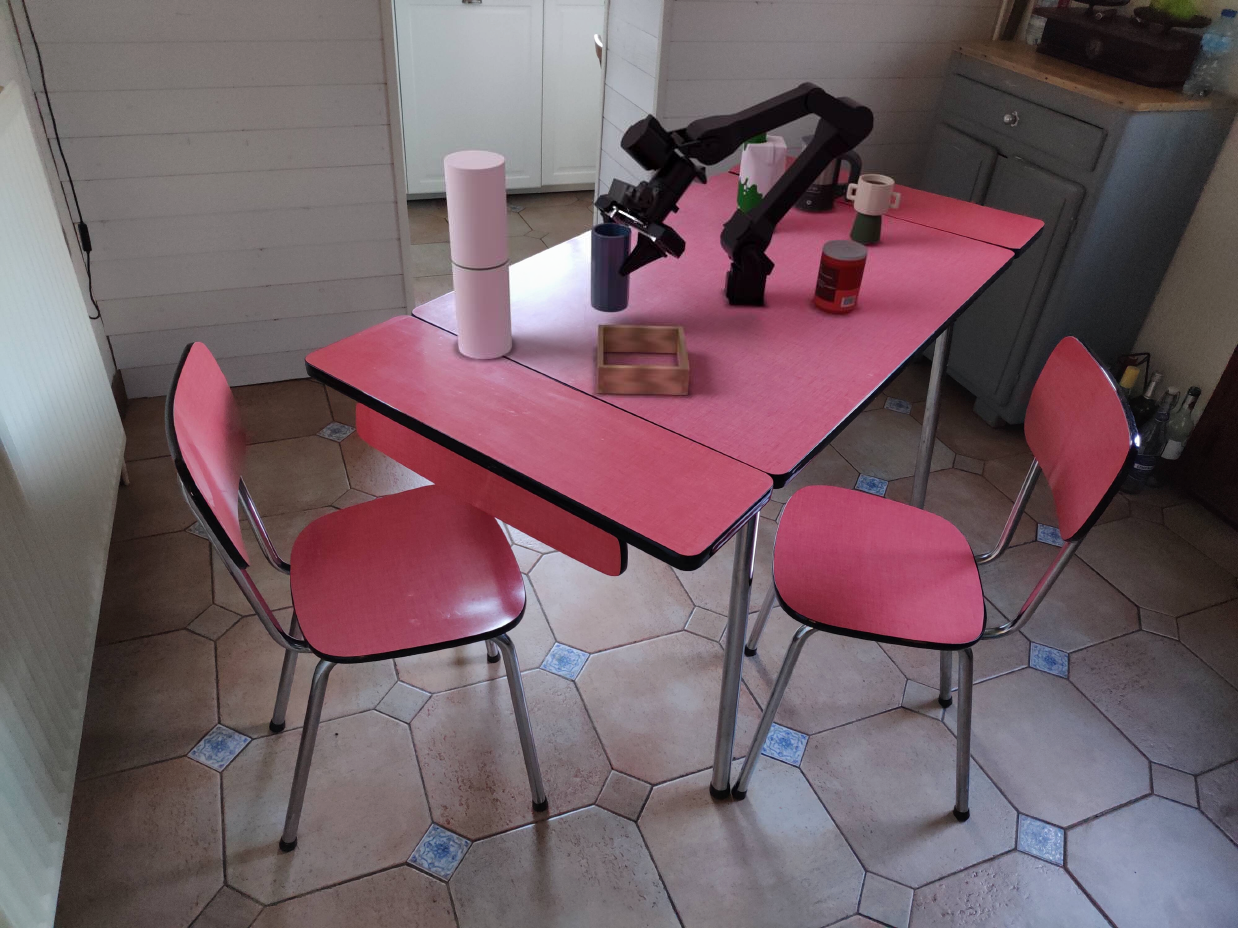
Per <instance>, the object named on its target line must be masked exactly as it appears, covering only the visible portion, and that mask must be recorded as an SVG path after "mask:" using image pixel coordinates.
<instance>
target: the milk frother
mask: <svg viewBox="0 0 1238 928" xmlns="http://www.w3.org/2000/svg"><path fill="white" fill-rule="evenodd" d="M814 134H815V133H813V134H806V135H803V136H802V137H801V141H802V146H801V153H802V152H803V151H804V149H805V148H806V147H807V146H808V145H809V144H810V142H811V141H812V139H813V137H814ZM843 161H846V162H848V163H849V165H850V171H849V175H848V179H847V182H839V178H840V172H841V166H842V162H843ZM862 168H863V161H862V157H861V156H860V155H859V153H858V152H857V151H855V150H854V149H853V150H851V151H849V152H847V153H845V154H843V155H841V156H839V157H837V158H835V159H834V160H833V161H832V162H831V163H830V164H829V165H828V167H827V168H826V169H825V170H824V171H823V172H822V173H821V175H820V176H819V177H818V178H817V179H816V180H815V181H814V183H813V184H812V185H811V186H810V187H809V188H808V190H807V191H806V192H805V193H804V194H803V195H802V196H801V198H800V199H799V200H798V201H797V202H796V203H795V204H794V206H793V207H795V208H796V209H798V210H801V211H805V212H811V213H825V212H829V211H832V210H833V209H834V207H835V205H834V202H835V201H836V200H838V199H840V198H842V197H843V201H844V202H845V203H851V202H852V201H853V200H849V199H847V191H848V186H849V184H857V185H858V181H859V178H860V176H861V173H862ZM856 191H857V189H853V190H852V195H853V196H856Z"/></svg>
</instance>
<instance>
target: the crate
mask: <svg viewBox="0 0 1238 928" xmlns="http://www.w3.org/2000/svg"><path fill="white" fill-rule="evenodd" d="M604 353H644V354H645V353H646V354H676V361H677V366H676V365H675V366H674V365H673V366H671V365H669V366H668V365H631V364H630V365H629V364H628V365H626V364H625V365H624V364H620V365H619V364H604ZM690 367H691V366H690V362H689V356H688V350H687V343H686V337H685V331H684V326H671V325H669V326H667V325H631V324H630V325H629V324H627V325H625V324H623V325H622V324H598V325H597V368H596V369H597V371H596V373H597V375H596V377H597V379H596V380H597V383H596V384H597V385H596V386H597V388H596V389H597V391H596V393H597V394H615V395H618V394H619V395H620V394H623V395H664V396H665V395H667V396H671V395H672V396H688V395H689V394H688V393H689V383H690V372H691V368H690Z"/></svg>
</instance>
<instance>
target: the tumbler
mask: <svg viewBox="0 0 1238 928" xmlns="http://www.w3.org/2000/svg"><path fill="white" fill-rule="evenodd" d="M590 229H591V230H590V295H589V296H590V306H591V307H592V309H594V310H596V311H598V312H603V313H618V312H623V311H625V310H626V309H627V308H628V307H629V303H630V302H629V301H630V286H631V284H630V281H631V273H630V274H628V275H626V276H624V277H622V276H621V275H620V274H619V272H620V270H621V268H622V266H623V264H624V263H625V261H626V260H627V258H628V257H629V255H630V254H631V252H632V234H633V233H632V227H630V226H629V227H628V226H626V225H623V224H620V223H603V222H602V223H598V224H595V225H593V226H592V227H591V228H590Z"/></svg>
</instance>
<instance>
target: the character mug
mask: <svg viewBox="0 0 1238 928" xmlns="http://www.w3.org/2000/svg"><path fill="white" fill-rule="evenodd" d="M894 186H895V180H894V179H893V178H891V177H889V176H886V175H884V174H877V173H868V174H867V173H866V174H862V175H860V177H859V181H858V185H857V184H849V186H848V191H847V199H849V200H852V201H854V202H853V209H854V210H855V211H856V212H857V214H856V215H855V218H854V221H853V224H852V226H851V230H850V234H849V237H850V239H851V241H854V242H857V243H860V244H862V245H871V244H875V243H878V242H880V241H881V234H882V224H883V223H882V222H883V216H882V215H885V214H886V213H888V211H889V210H890V209H892V210H893V209H894V210H898V209H899V207H900V203H901V199H902V193H900V192H897V191H894ZM853 189H856V192H855V196H853V195H852V190H853ZM892 197H893V198H895V200H894V203H891V201H892Z"/></svg>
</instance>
